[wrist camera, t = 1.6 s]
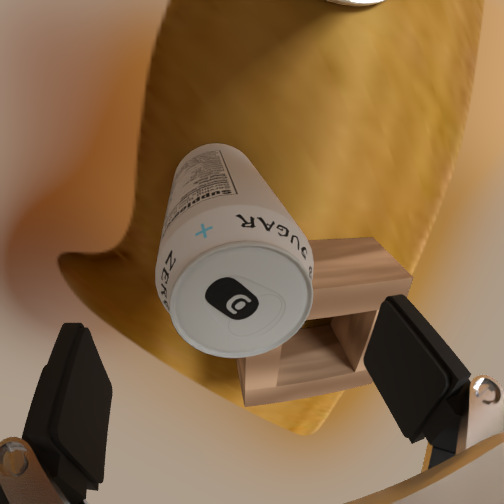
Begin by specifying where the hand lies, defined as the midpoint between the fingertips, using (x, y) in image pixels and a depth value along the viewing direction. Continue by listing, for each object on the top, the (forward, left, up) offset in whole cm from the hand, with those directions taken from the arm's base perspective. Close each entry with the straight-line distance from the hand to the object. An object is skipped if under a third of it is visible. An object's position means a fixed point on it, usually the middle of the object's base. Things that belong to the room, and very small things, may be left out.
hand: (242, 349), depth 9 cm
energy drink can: (-1, 0, -17) cm, 17 cm away
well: (+11, +8, -16) cm, 22 cm away
